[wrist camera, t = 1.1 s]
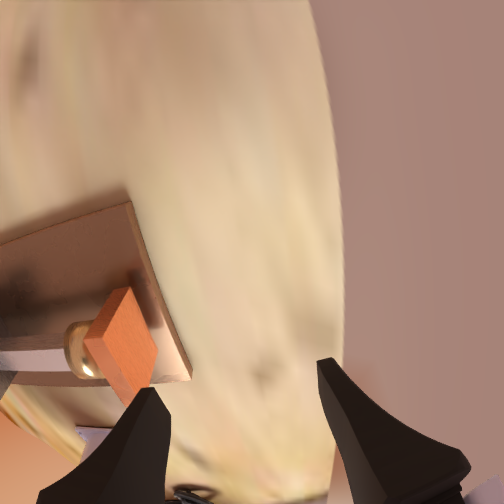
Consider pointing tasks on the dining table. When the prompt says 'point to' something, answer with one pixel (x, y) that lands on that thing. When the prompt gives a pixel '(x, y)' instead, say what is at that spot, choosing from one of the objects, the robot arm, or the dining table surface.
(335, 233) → the dining table surface
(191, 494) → the milk frother
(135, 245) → the bearing base
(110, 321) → the shaft
